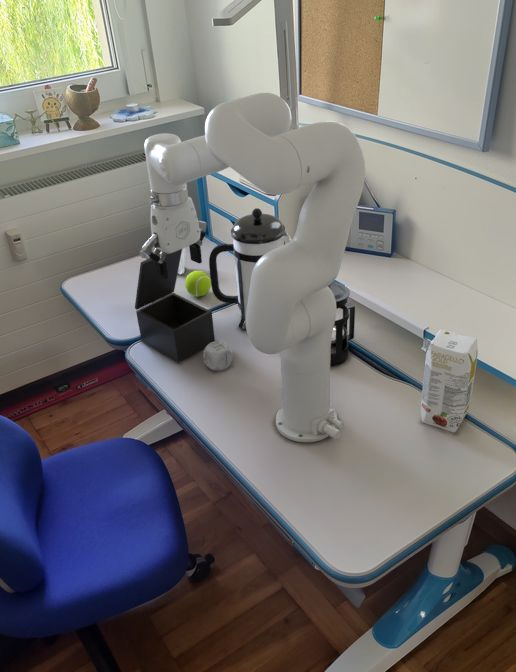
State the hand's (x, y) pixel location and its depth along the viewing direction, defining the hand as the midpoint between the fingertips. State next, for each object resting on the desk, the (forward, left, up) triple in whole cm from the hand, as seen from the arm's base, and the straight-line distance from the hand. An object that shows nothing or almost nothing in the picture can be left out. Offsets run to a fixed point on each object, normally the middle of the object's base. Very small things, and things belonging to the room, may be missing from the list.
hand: (180, 269), depth 147 cm
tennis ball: (+19, -19, -22) cm, 34 cm away
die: (-10, 0, -22) cm, 24 cm away
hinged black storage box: (+5, 0, -22) cm, 22 cm away
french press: (-27, -20, -22) cm, 40 cm away
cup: (+34, -24, -22) cm, 47 cm away
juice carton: (-59, -17, -22) cm, 65 cm away
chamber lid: (+9, 0, -5) cm, 10 cm away
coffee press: (-3, -20, -22) cm, 30 cm away
